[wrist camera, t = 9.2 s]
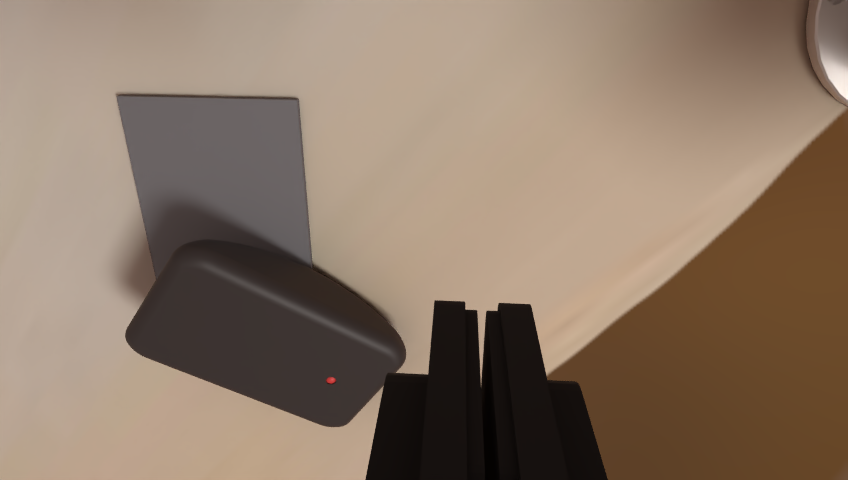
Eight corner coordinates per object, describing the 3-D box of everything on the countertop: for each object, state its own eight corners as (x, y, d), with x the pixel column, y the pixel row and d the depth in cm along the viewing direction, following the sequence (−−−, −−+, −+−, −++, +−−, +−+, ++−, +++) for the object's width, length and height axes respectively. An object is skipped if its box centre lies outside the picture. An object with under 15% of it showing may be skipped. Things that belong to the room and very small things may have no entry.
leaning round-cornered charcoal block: (198, 204, 34) (137, 306, 38) (178, 244, 30) (112, 353, 34) (411, 313, 41) (341, 391, 44) (416, 358, 37) (339, 439, 40)
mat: (298, 98, 33) (296, 100, 33) (317, 324, 40) (316, 328, 40) (120, 94, 34) (116, 96, 33) (168, 318, 40) (165, 321, 40)
